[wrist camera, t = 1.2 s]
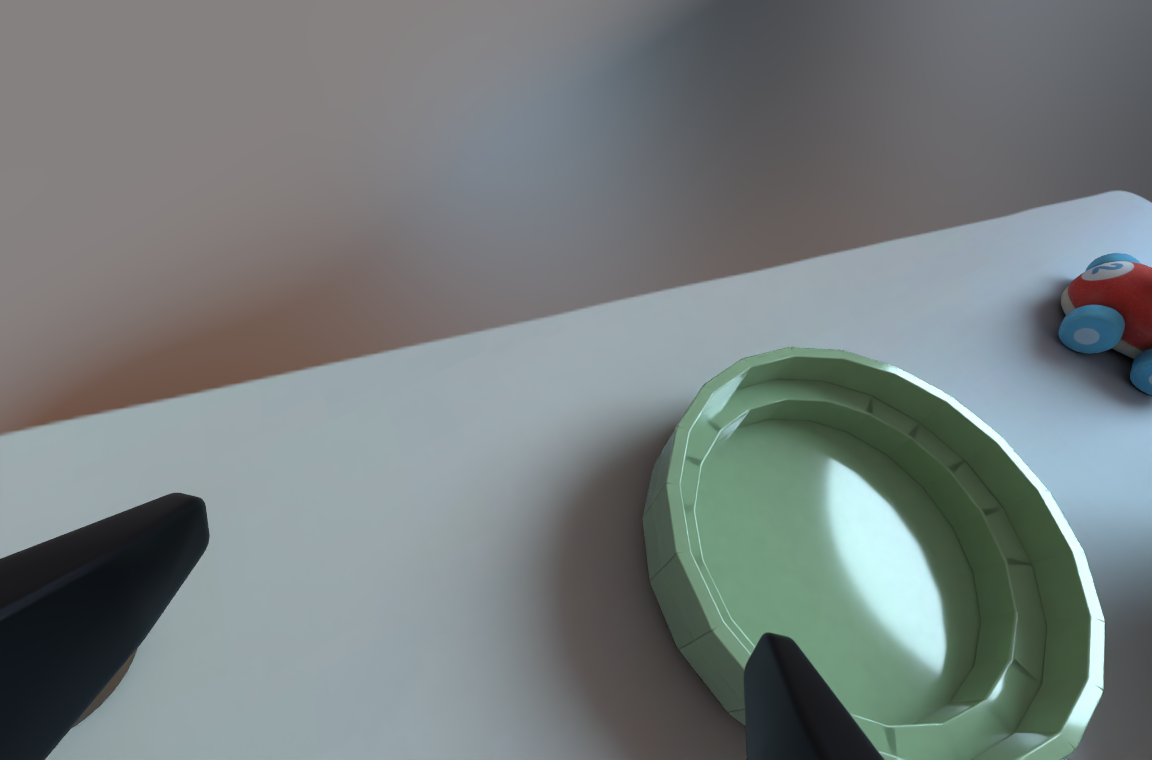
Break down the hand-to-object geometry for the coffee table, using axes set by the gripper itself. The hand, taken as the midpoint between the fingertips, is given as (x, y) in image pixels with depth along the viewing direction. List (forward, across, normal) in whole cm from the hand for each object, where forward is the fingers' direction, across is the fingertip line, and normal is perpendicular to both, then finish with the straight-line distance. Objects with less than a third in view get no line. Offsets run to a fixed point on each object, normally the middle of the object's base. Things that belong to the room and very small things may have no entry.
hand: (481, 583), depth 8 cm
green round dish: (+14, -14, +9) cm, 22 cm away
